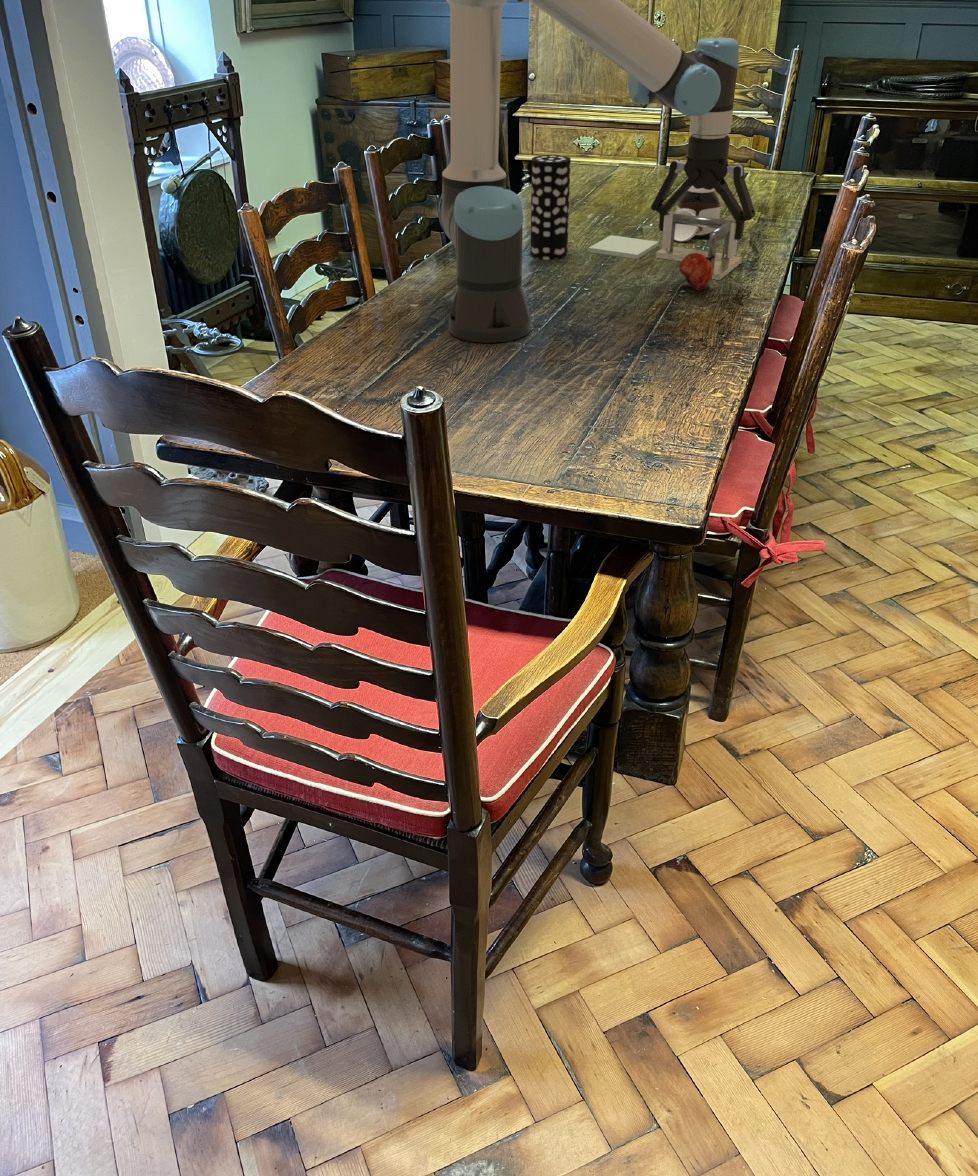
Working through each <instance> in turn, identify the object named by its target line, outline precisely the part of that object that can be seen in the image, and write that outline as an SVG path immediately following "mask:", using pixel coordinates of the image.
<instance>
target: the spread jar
mask: <svg viewBox="0 0 978 1176" xmlns="http://www.w3.org/2000/svg"><path fill="white" fill-rule="evenodd" d="M674 213H675V214H683V215H691V216H700V217H708V218H716V219H720V215H721V200H720V198H719V196H718V193H717V192H716V190H715V189H714V188H713V189H711V190H707V189H704V188H700V189H696V188H695V187H693V186H692V187H690V188H689V189H688V191H687V192H686V193H685V194H684V195H683V196H682V197H681V198H680V199H679V200H678V202H677V203H676V209H675V212H674ZM714 230H715V228H707V227H699V226H691V225H683V224H676V225H675V235H674V241H677V242H682V243H683V242H688V241H690V240H704V239H708V238H709V235H710V233H711V232H712V231H714Z"/></svg>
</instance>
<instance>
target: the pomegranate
mask: <svg viewBox="0 0 978 1176" xmlns="http://www.w3.org/2000/svg"><path fill="white" fill-rule="evenodd" d="M713 258H715V256H714V255H713V256H711V257H705V256H704V255H702V254H699V253H692V254H688V255H687V256H685V258H684V259H683V260H682V261H680V263H679V265H678V268H679V269H678V270H679V273H681V275H683V276H684V277H685V278H684V279H682V281H681V282H679V284H677V285H676V286H675V287H674V288H672V289H673V290H676V289H677V288H679V287H680V286H681V285H682V284H683V283H685V282H686V283H687V284H688V286H690V288H691V287H692V288H693V289H694V290H695V291H701V290H702V289H705V288H706V287H707V286H708V285H709V284H710V282H711V281H712V280H713V279H712V276H713V267H712V265H711V260H712V259H713Z"/></svg>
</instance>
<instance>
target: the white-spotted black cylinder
mask: <svg viewBox="0 0 978 1176" xmlns="http://www.w3.org/2000/svg"><path fill="white" fill-rule="evenodd" d="M571 161H572V159H571V157H569V156H566V155H558V154H545V155H544V154H542V155H537V156H533V157H532V158H531V183H530V186H531V187H530V188H531V189H530V190H531V191H530V193H531V195H530V198H531V199H530V256H531V257H532V258H534V259H537V260H542V261H543V260H544V261H554V260H561V259H565V258H566V257H567V256H568V246H569V245H568V243H569V217H570V216H569V215H570V193H571V192H570V191H571V190H570V187H571V185H570V184H571Z"/></svg>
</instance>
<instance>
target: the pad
mask: <svg viewBox="0 0 978 1176" xmlns="http://www.w3.org/2000/svg"><path fill="white" fill-rule="evenodd" d="M659 244H660V243H659V241H656V240H649V239H643V238H642V239H641V238H632V237H627V236H620V235H619V236H618V235H611V234H610V235H609V236H606V237H605V238H603V239H602V240H600V241H598V242H596V243H595V244H593V245H591V246H589V247H588V253H592V254H598V255H606V256H612V257H619V258H626V259H631V260H632V259H633V260H638V259H639V260H640V258H642V257H644V256H645V255H647V254H648V253H650V252H652V251H653V250H655V249H656V248H658V247H659Z"/></svg>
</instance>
